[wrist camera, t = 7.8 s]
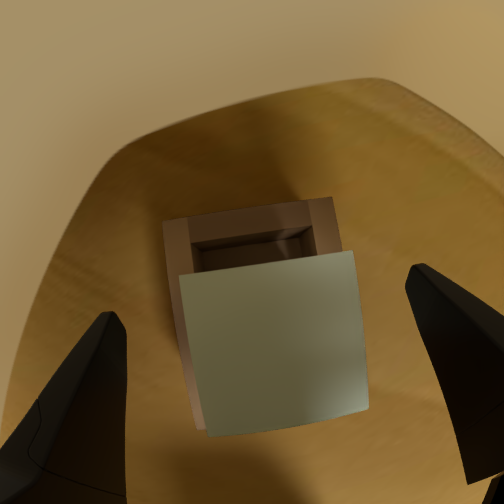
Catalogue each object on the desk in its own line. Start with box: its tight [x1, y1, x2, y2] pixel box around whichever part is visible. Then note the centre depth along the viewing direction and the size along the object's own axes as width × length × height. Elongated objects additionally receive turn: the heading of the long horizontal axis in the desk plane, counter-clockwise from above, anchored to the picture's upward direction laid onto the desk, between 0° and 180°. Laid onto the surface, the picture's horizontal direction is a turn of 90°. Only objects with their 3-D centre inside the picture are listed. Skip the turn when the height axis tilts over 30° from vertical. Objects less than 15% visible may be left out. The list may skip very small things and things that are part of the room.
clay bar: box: [179, 250, 369, 437], centre depth 11 cm, size 4×4×10 cm
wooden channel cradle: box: [162, 197, 343, 430], centre depth 15 cm, size 10×8×5 cm
